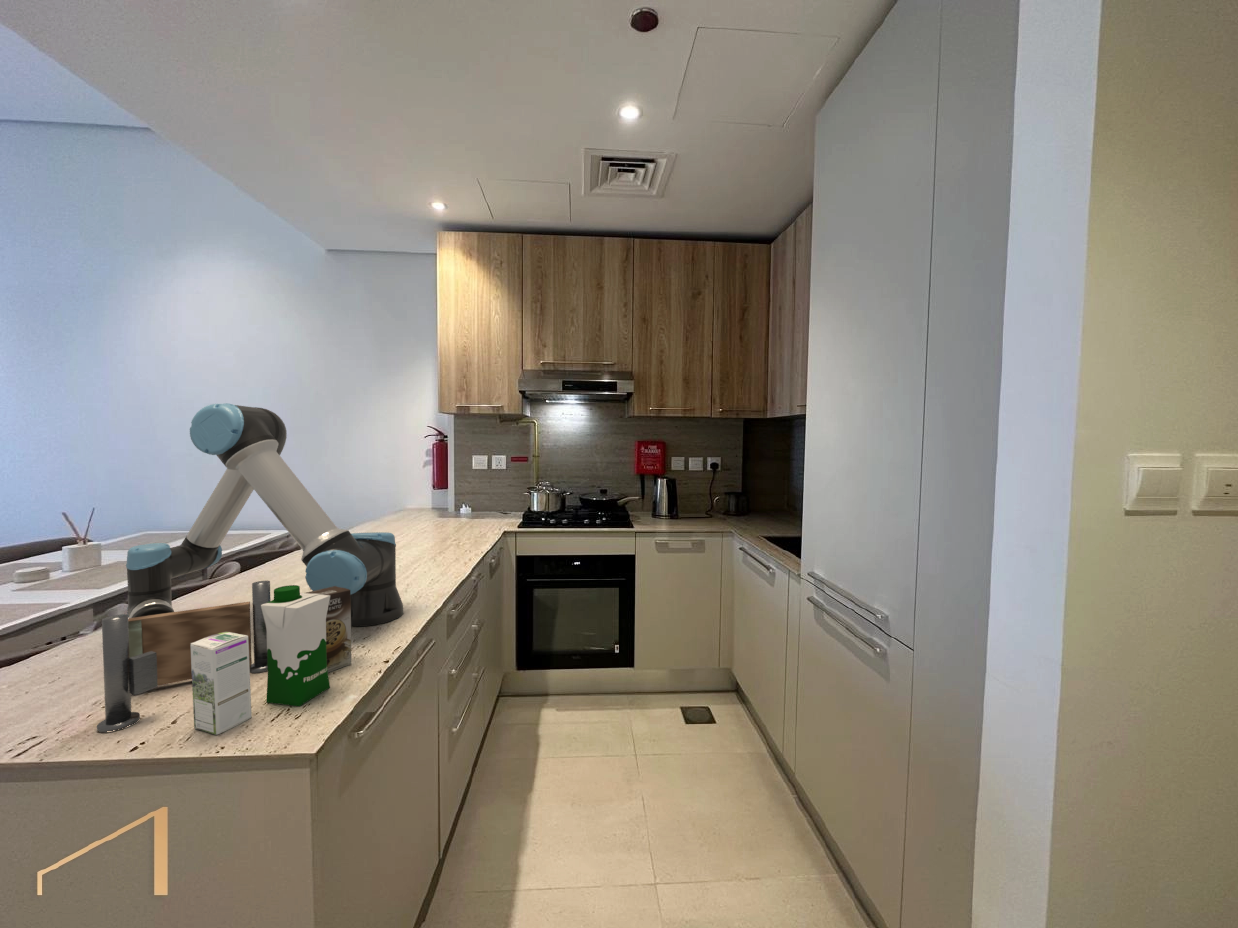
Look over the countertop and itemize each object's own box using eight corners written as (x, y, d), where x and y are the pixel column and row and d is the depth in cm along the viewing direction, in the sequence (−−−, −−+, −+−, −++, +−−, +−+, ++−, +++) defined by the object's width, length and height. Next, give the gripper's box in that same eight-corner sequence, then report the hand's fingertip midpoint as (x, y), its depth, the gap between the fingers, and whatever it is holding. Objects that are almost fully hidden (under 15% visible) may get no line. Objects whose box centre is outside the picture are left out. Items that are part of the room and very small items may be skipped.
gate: (251, 663, 101) (249, 601, 101) (250, 667, 99) (249, 604, 99) (131, 686, 91) (129, 618, 91) (128, 691, 89) (126, 621, 89)
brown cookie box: (307, 681, 95) (305, 600, 95) (291, 673, 99) (289, 595, 98) (353, 663, 103) (351, 588, 103) (336, 657, 107) (335, 584, 106)
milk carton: (298, 681, 95) (296, 580, 95) (338, 686, 94) (336, 583, 93) (257, 704, 87) (254, 594, 86) (300, 710, 85) (297, 597, 84)
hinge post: (268, 660, 105) (266, 578, 104) (283, 664, 103) (281, 580, 102) (242, 670, 100) (240, 584, 99) (257, 675, 98) (255, 587, 97)
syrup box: (253, 717, 83) (251, 633, 82) (214, 736, 77) (212, 647, 77) (230, 711, 85) (228, 629, 84) (191, 730, 79) (188, 642, 78)
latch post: (142, 709, 85) (138, 608, 85) (158, 715, 83) (155, 612, 83) (90, 728, 79) (86, 620, 79) (106, 736, 77) (102, 624, 77)
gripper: (192, 628, 115) (205, 659, 98) (110, 645, 105) (110, 681, 89) (191, 597, 114) (204, 622, 98) (109, 610, 105) (108, 641, 88)
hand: (159, 650), depth 93 cm, fingers closed
